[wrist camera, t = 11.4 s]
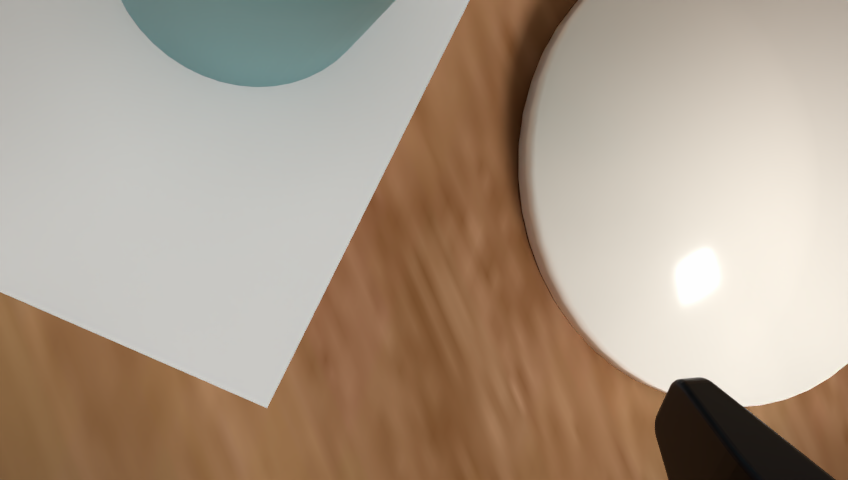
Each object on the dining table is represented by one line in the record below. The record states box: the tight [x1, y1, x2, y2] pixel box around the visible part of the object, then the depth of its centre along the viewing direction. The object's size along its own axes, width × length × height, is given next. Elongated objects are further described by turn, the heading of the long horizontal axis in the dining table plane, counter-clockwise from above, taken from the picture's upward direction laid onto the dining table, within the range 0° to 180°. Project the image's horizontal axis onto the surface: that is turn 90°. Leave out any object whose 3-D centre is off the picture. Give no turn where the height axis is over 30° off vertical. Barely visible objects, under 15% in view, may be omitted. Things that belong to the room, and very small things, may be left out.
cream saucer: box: [518, 0, 848, 407], centre depth 22 cm, size 13×13×1 cm
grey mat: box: [0, 0, 469, 408], centre depth 17 cm, size 14×10×1 cm
